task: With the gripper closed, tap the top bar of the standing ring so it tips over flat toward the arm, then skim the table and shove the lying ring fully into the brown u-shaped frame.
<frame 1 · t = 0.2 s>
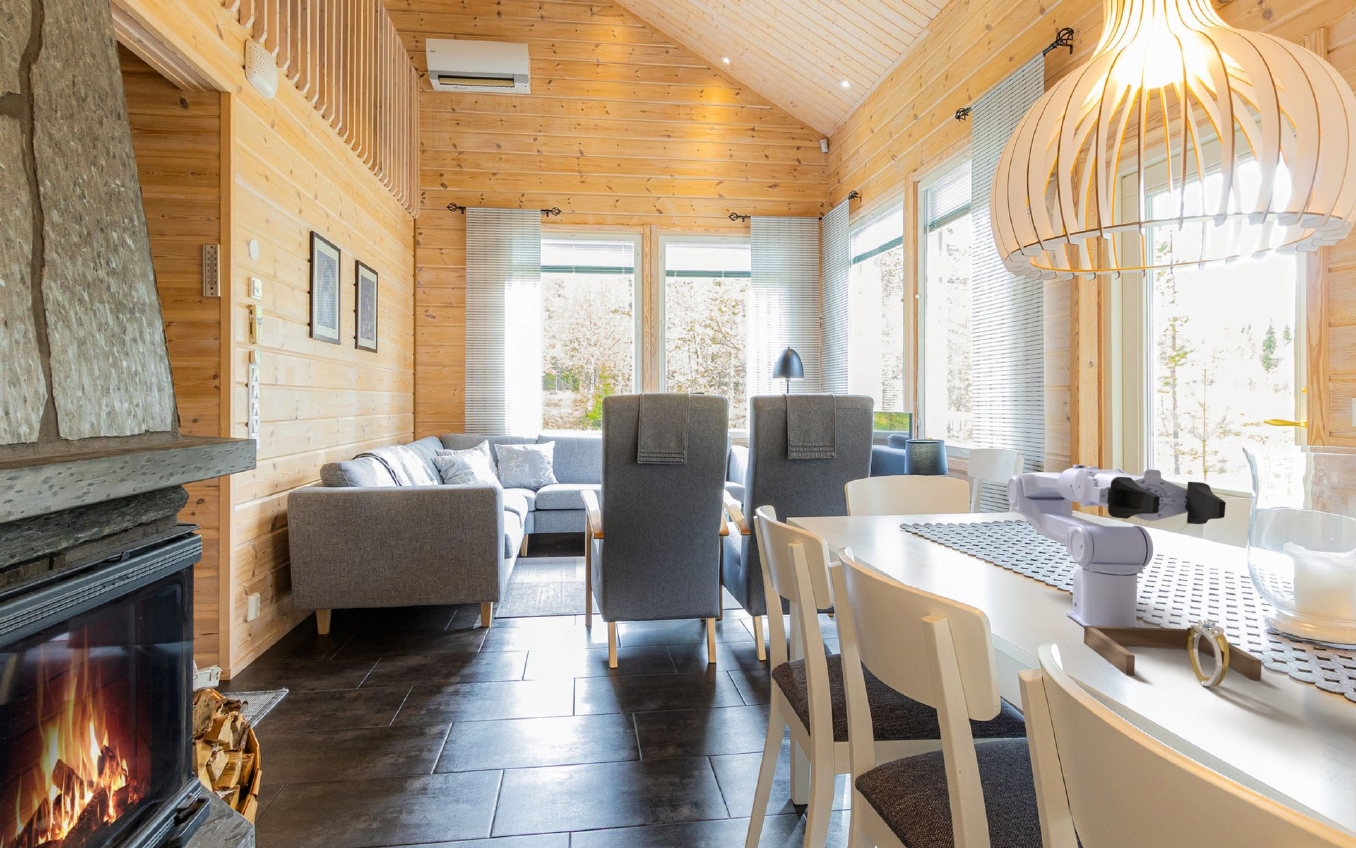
hand: (1189, 507, 88), 22 cm above the table, tool horizontal, fingers open, 7 cm apart
brown u-shaped frame: (1165, 659, 94), on the table
ring: (1205, 687, 86), on the table
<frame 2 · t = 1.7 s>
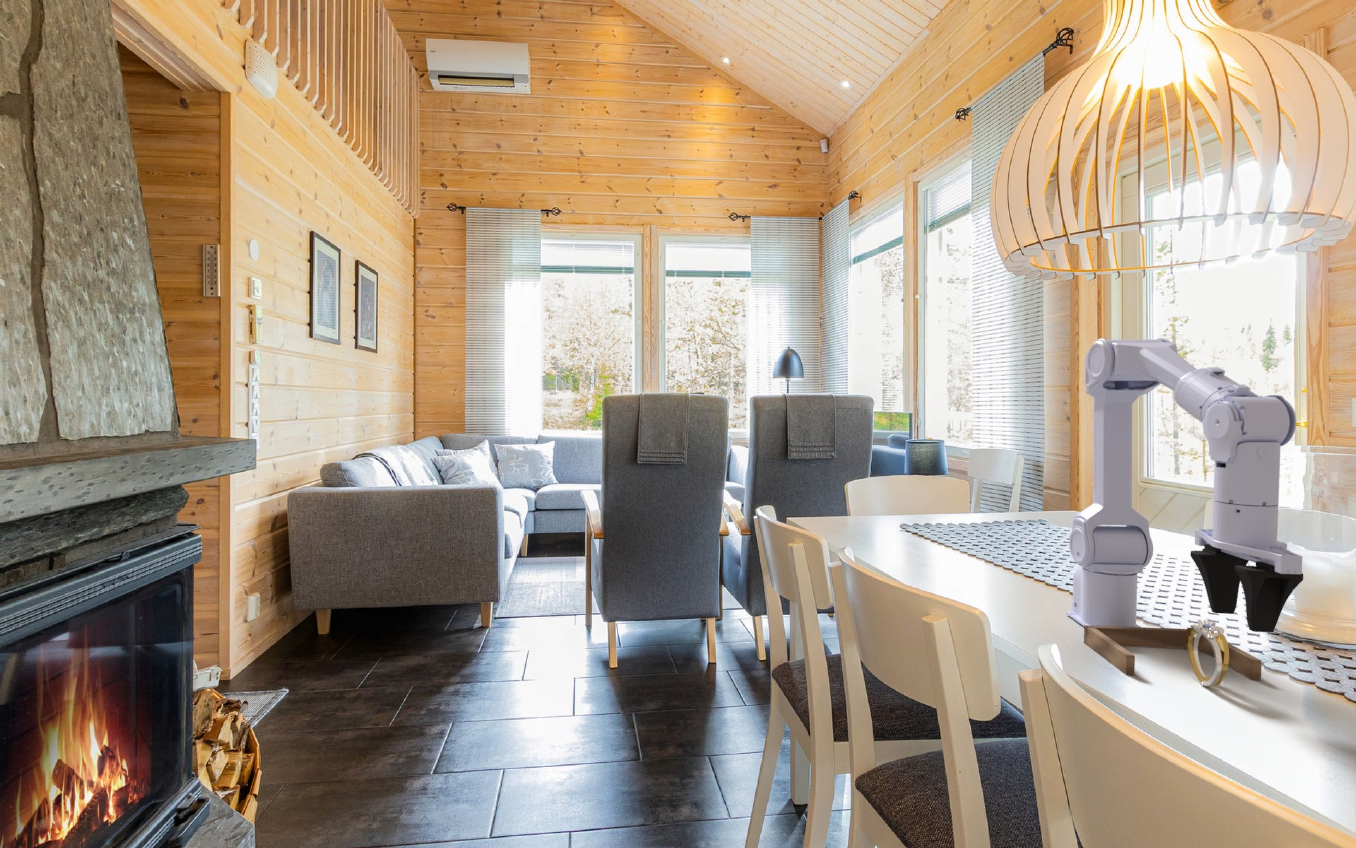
hand: (1241, 621, 80), 10 cm above the table, tool pointing down, fingers open, 6 cm apart
nothing on the table moved.
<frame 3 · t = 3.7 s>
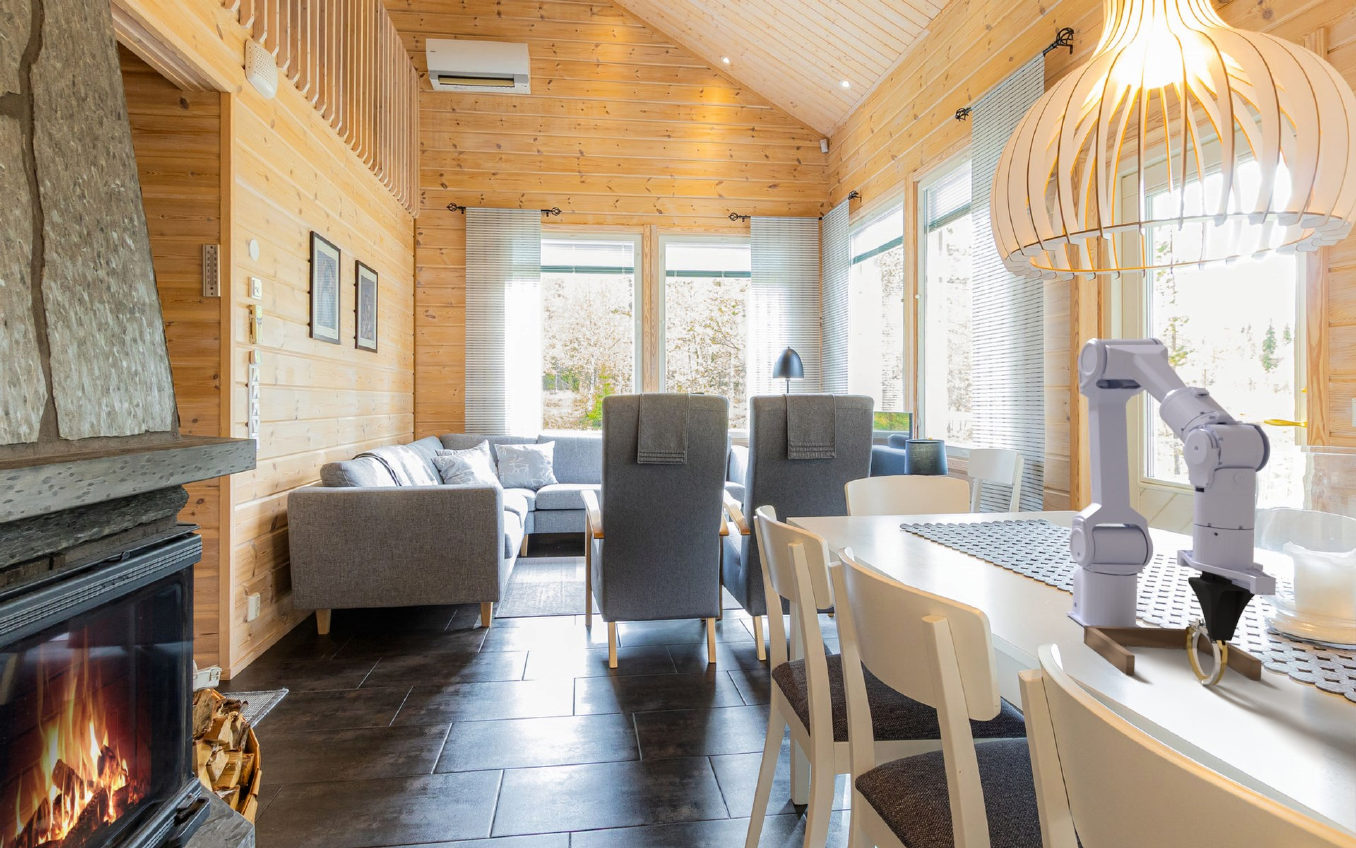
hand: (1220, 639, 83), 7 cm above the table, tool pointing down, fingers closed, pressing on ring
ring: (1205, 686, 86), on the table, touching gripper
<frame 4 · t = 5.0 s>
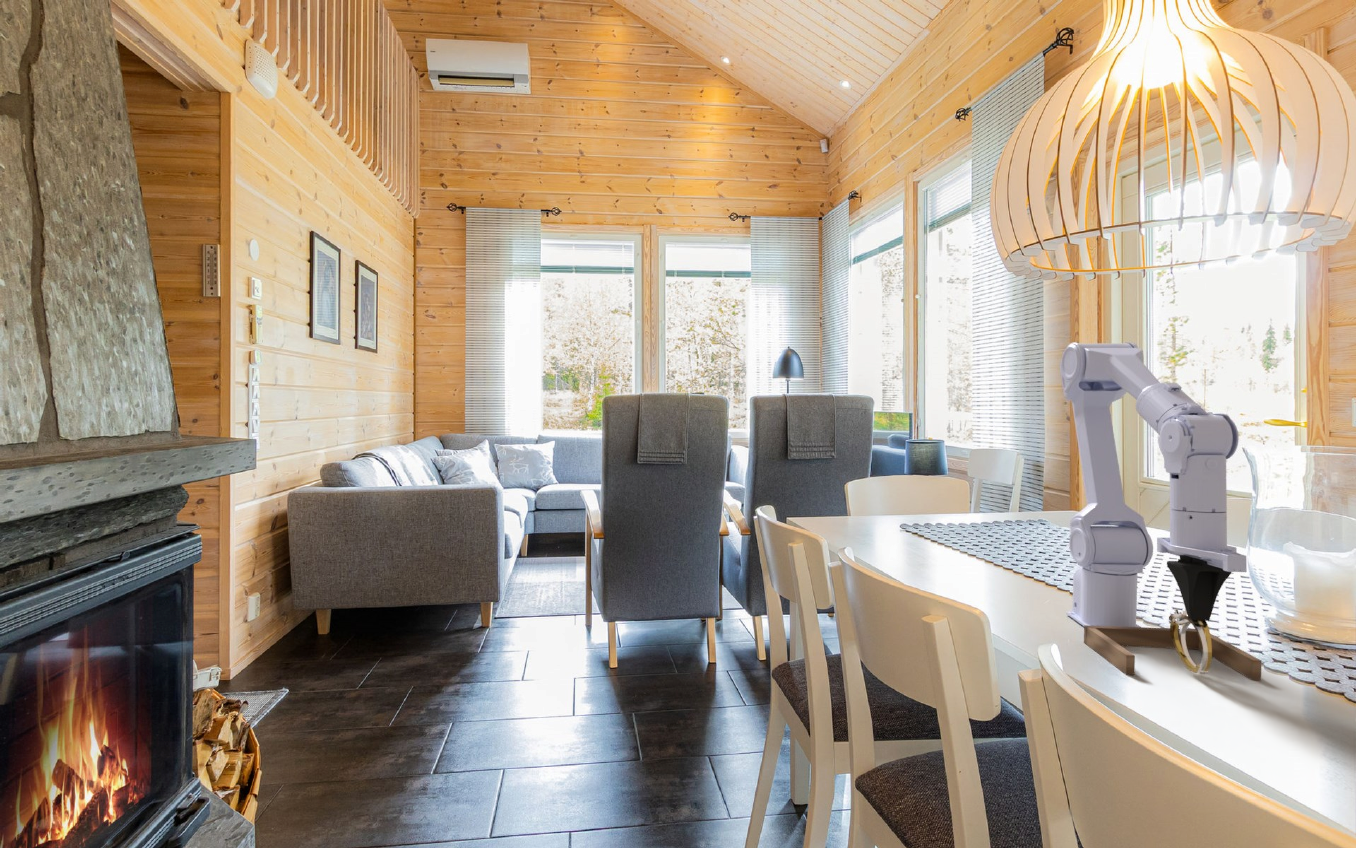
hand: (1198, 619, 87), 8 cm above the table, tool pointing down, fingers closed, pressing on ring
ring: (1203, 675, 86), point 1 cm above the table, touching gripper
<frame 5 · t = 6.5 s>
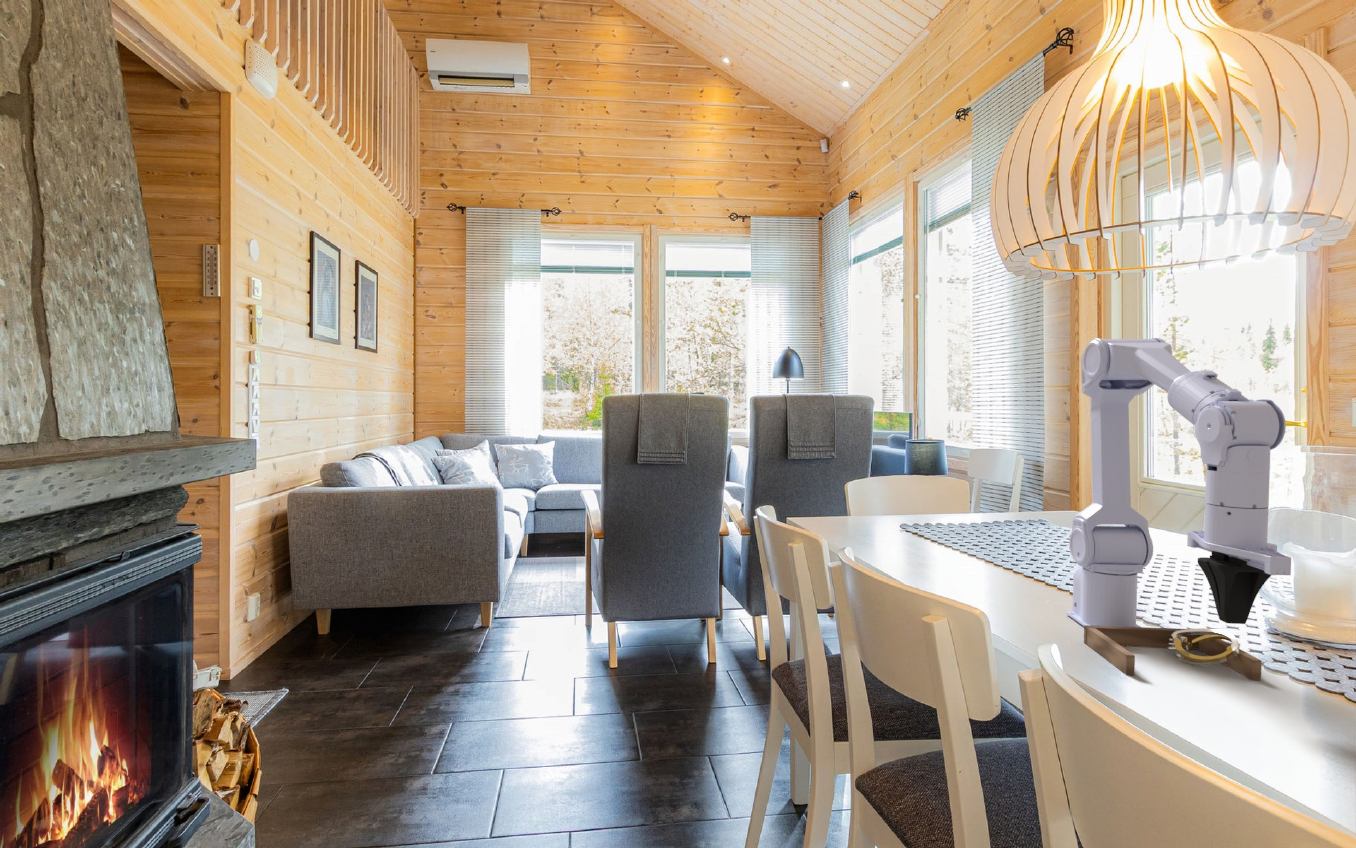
hand: (1232, 621, 81), 9 cm above the table, tool pointing down, fingers closed
ring: (1239, 652, 90), point 3 cm above the table, touching brown u-shaped frame
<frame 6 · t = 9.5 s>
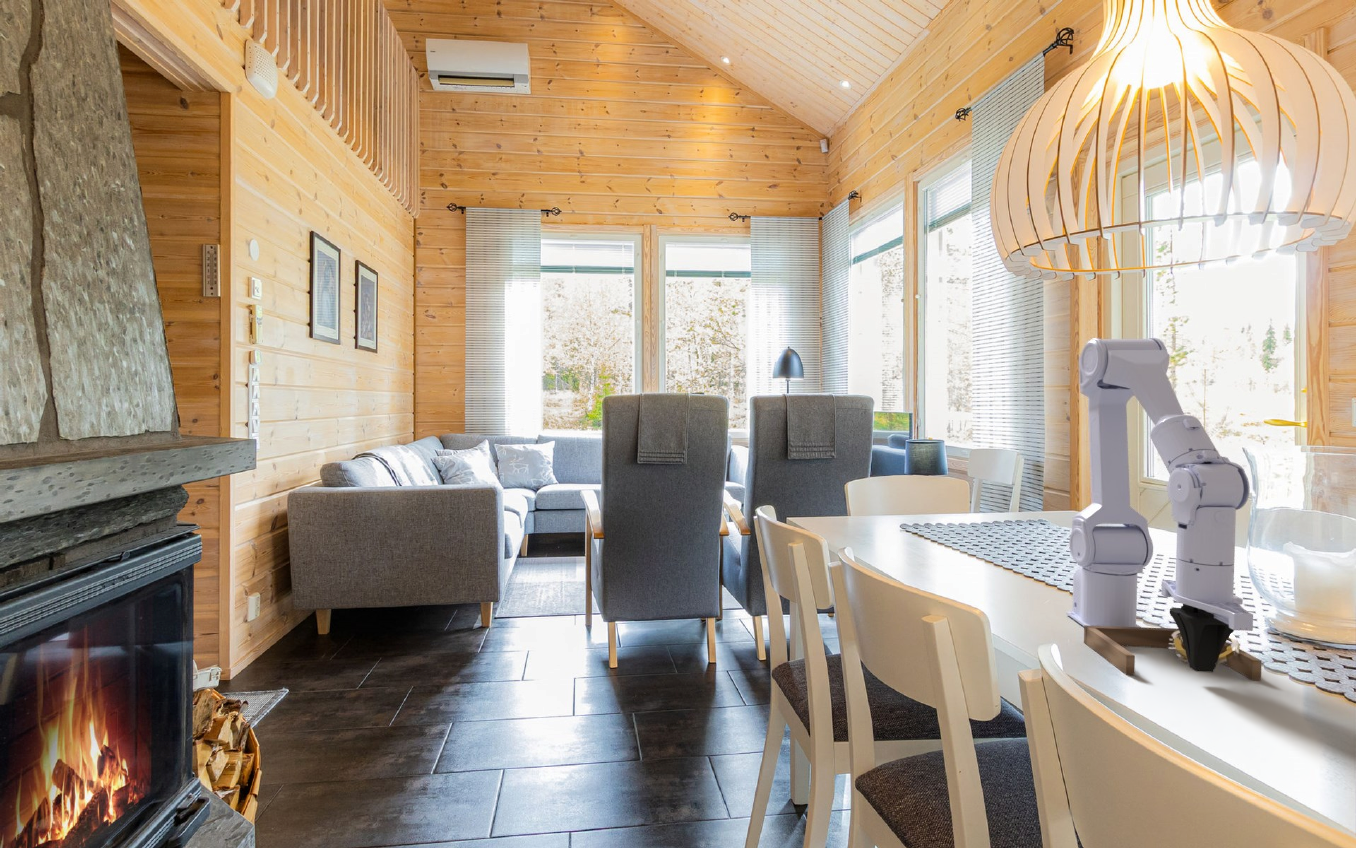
hand: (1201, 669, 87), 2 cm above the table, tool pointing down, fingers closed
nothing on the table moved.
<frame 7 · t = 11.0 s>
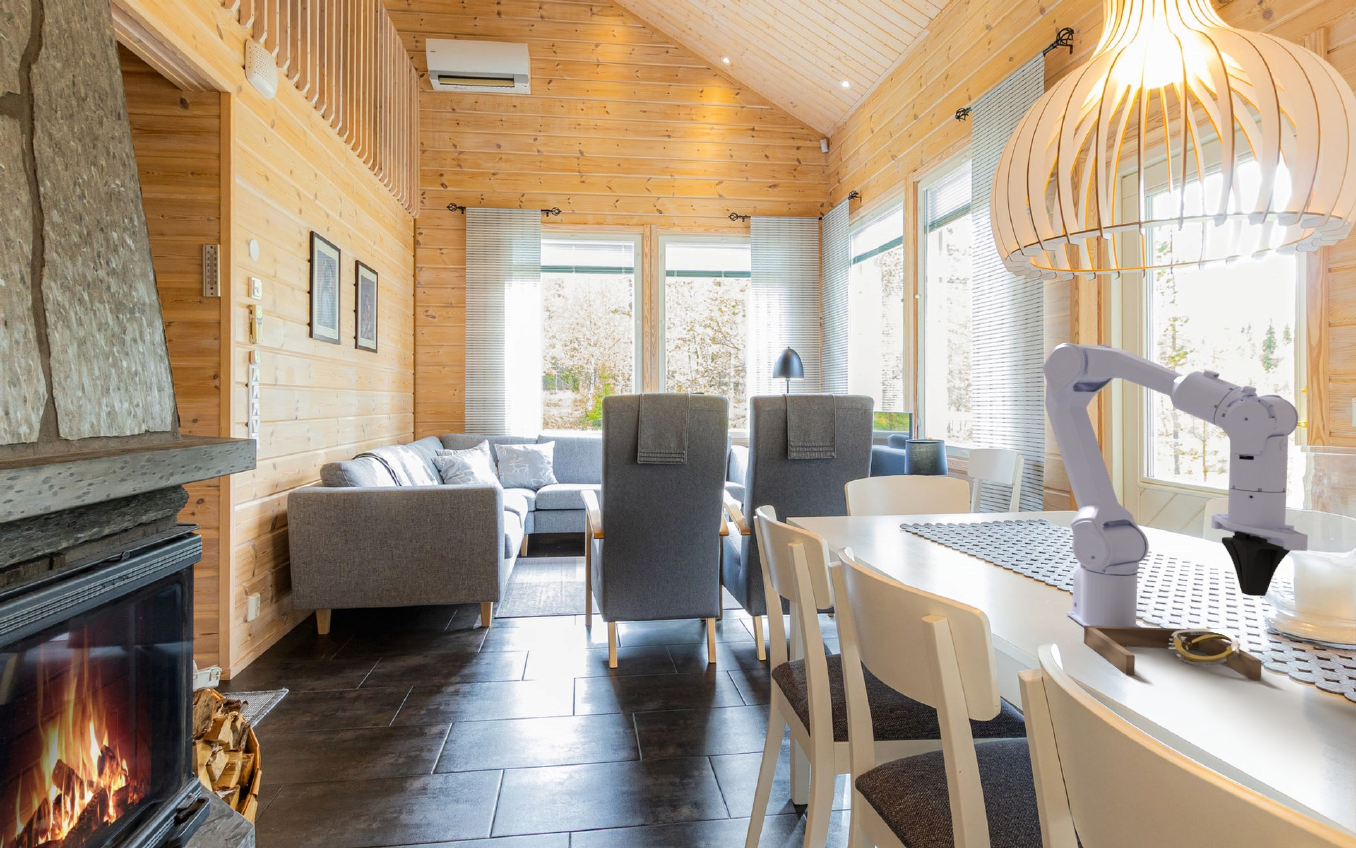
hand: (1253, 594, 91), 10 cm above the table, tool pointing down, fingers closed
nothing on the table moved.
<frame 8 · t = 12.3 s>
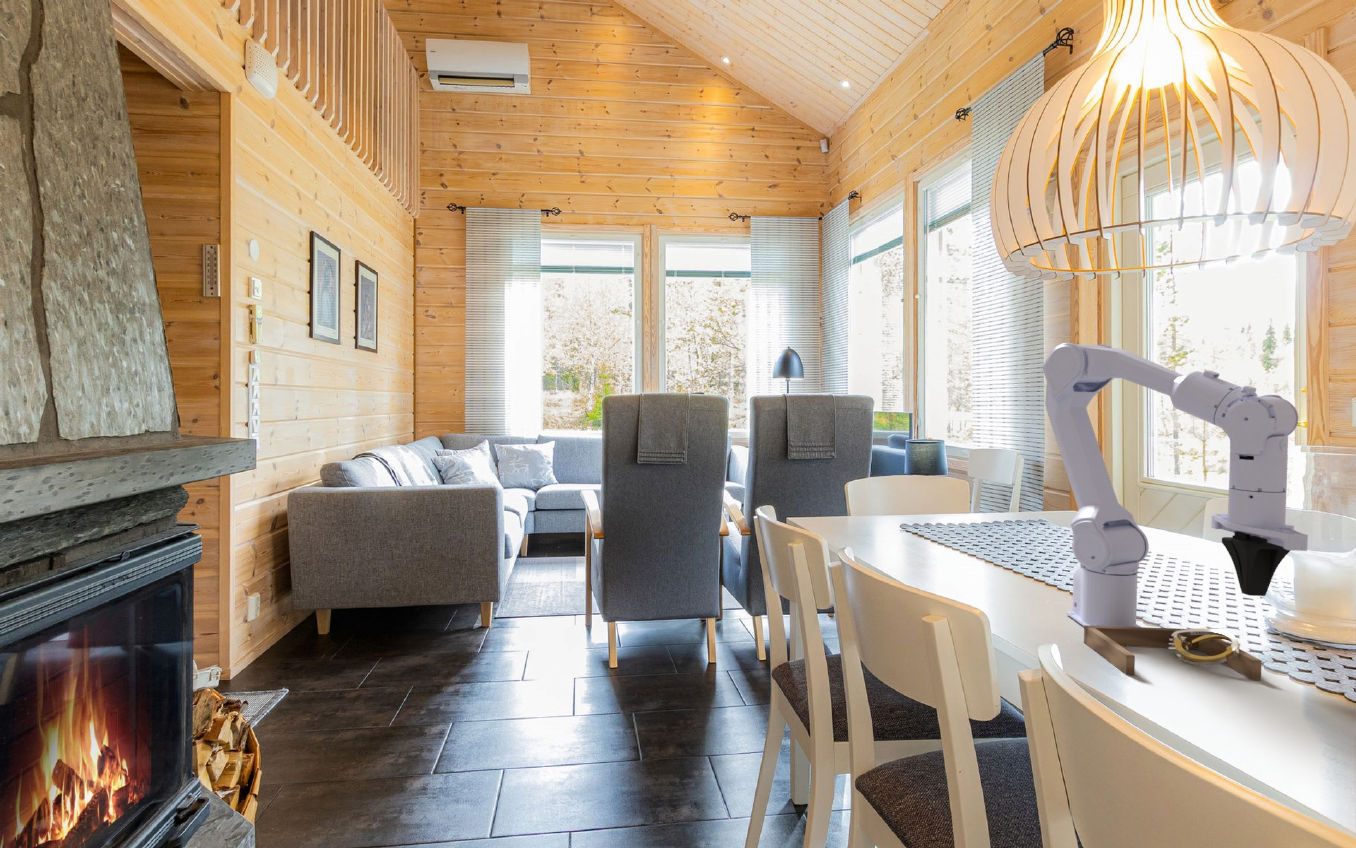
hand: (1253, 594, 91), 10 cm above the table, tool pointing down, fingers closed
nothing on the table moved.
at the end: ring inside the target area on the brown u-shaped frame (7.2 cm from its centre), point 2.8 cm above the brown u-shaped frame's base; ring moved 8.5 cm from its start; the gripper is holding nothing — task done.
